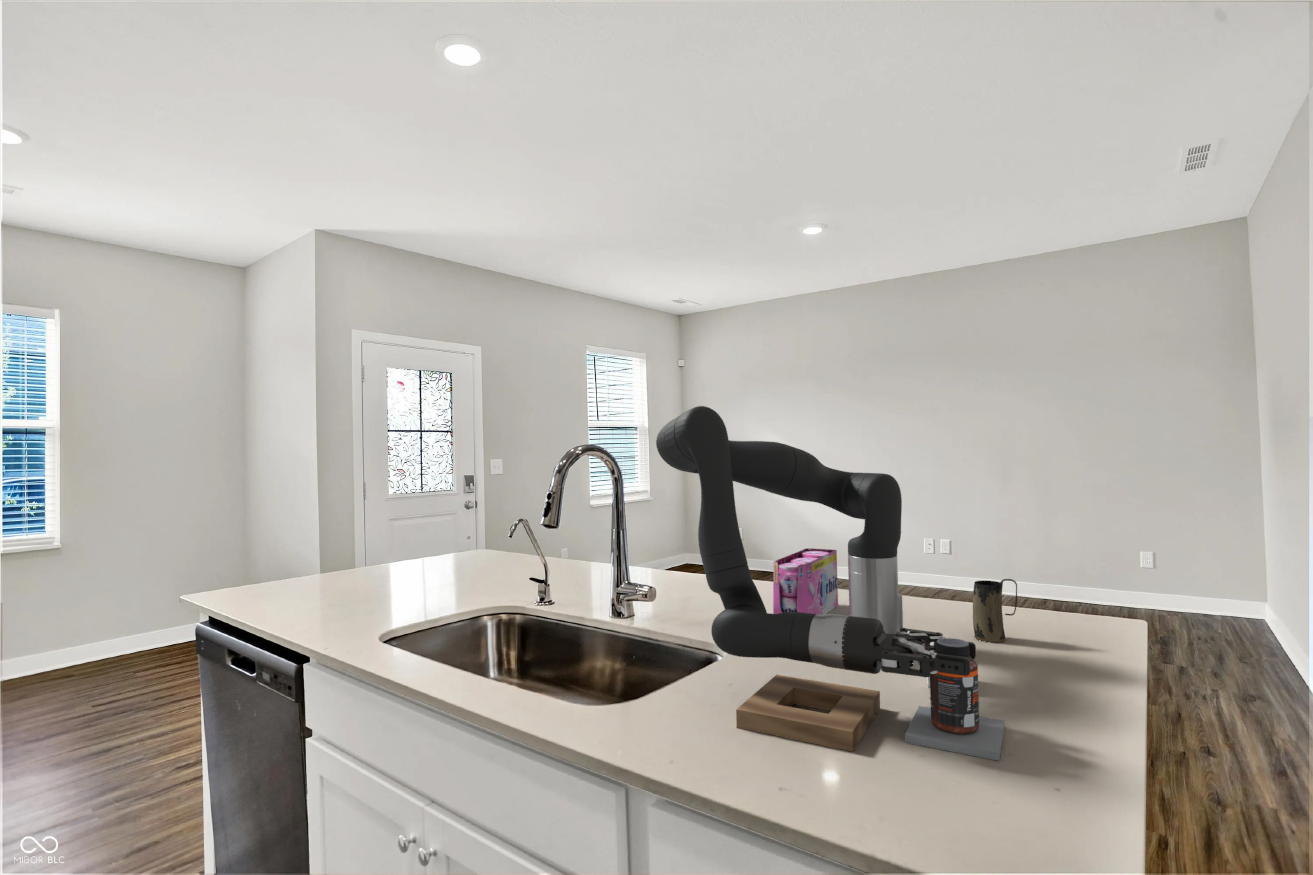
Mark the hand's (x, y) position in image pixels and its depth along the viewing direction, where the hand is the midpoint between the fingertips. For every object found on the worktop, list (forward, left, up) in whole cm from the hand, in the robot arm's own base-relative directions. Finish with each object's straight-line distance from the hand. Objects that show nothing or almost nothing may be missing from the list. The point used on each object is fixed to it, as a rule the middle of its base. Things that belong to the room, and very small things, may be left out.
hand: (972, 658), depth 89 cm
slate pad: (+1, -2, -10) cm, 11 cm away
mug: (-42, -28, -11) cm, 51 cm away
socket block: (+14, -16, -10) cm, 24 cm away
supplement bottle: (+1, -2, -10) cm, 10 cm away
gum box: (-24, -63, -11) cm, 68 cm away
